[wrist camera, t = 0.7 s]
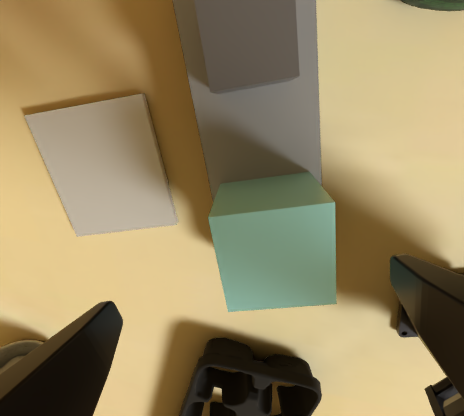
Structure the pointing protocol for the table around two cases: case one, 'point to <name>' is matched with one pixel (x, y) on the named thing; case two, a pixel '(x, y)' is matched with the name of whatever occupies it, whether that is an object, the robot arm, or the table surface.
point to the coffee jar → (437, 4)
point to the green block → (275, 242)
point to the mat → (105, 165)
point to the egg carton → (249, 383)
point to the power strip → (256, 113)
